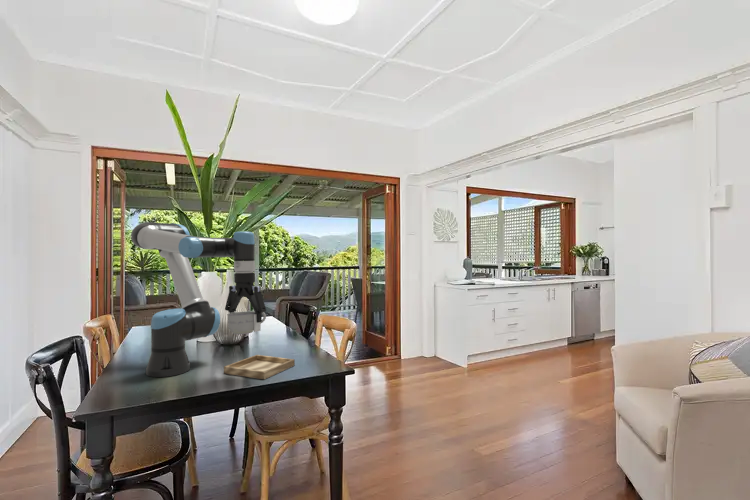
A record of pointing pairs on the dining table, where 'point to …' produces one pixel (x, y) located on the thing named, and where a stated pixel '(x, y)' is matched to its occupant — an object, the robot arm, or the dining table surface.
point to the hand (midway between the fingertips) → (245, 330)
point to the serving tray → (259, 366)
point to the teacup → (242, 322)
